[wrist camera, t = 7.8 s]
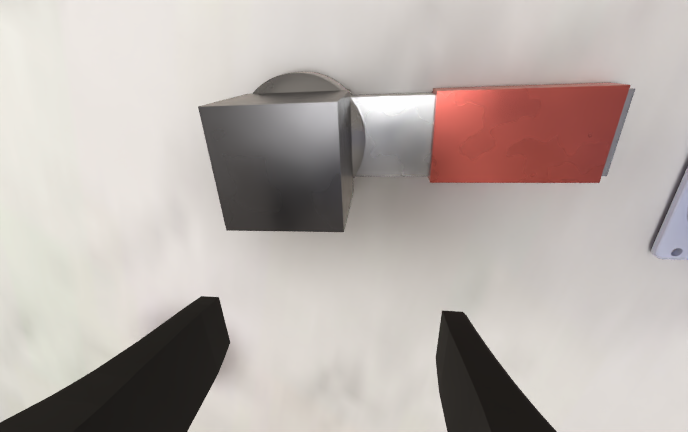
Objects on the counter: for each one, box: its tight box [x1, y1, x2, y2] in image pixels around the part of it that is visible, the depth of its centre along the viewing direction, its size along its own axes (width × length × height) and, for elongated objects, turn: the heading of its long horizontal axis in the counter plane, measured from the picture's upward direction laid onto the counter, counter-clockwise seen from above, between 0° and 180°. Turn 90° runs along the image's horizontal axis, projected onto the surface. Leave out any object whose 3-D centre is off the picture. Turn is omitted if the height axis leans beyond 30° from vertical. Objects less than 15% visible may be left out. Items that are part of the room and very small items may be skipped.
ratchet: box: [253, 72, 635, 183], centre depth 15 cm, size 18×6×4 cm, turn 93°
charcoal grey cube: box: [198, 90, 354, 232], centre depth 14 cm, size 5×5×4 cm
